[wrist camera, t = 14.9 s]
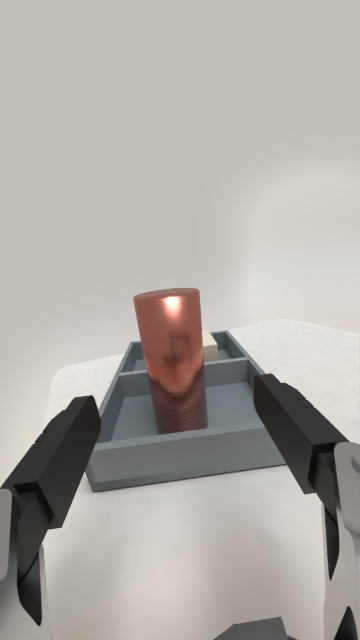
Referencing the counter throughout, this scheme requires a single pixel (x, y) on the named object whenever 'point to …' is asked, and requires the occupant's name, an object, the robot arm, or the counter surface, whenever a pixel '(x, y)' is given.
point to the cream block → (209, 347)
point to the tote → (182, 447)
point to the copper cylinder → (174, 357)
